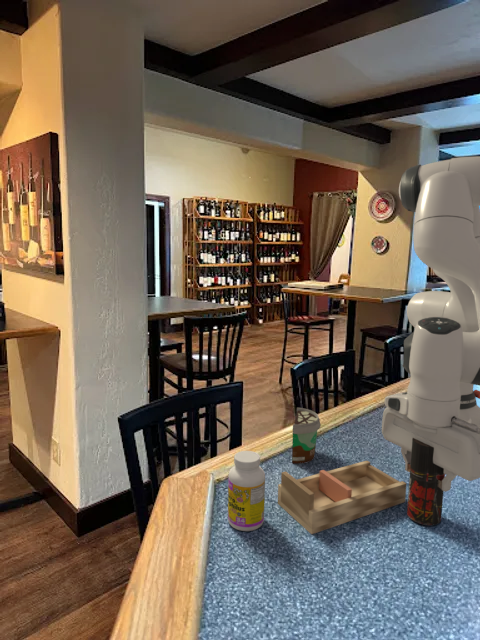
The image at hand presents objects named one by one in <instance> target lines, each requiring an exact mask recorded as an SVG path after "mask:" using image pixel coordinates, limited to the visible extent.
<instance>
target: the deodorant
mask: <svg viewBox="0 0 480 640" xmlns="http://www.w3.org/2000/svg"><path fill="white" fill-rule="evenodd" d="M433 454H434V447H432V446H430V445H427V444H425V443H423V442H421V441H419V440H417V439H414V438H413V439H412V452H411V466H410V472H409V478H408V479H409V481H408V492H407V494H408V495H407V496H408V497H407V506H406V507H407V508H406V515H407V517H408V518H409V519H410V520H411V521H413V522H414V523H417V524H420V525H424V526H431V527H432V526H437V525H439V524H440V523H441V521H442V515H443V514H442V511H443V501H444V491H443V490H441V489H439V488H438V487H437V485H438V479H442V478H443V477H445V476H446V474H444V468H442V467H440V466H438V465H436V464H434V463H433Z"/></svg>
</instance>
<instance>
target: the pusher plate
mask: <svg viewBox="0 0 480 640" xmlns="http://www.w3.org/2000/svg"><path fill="white" fill-rule="evenodd" d="M326 471H327V470H325V469H322V470H319V473H320V474H319V473H318V474H319V490H320V491H322V492H323V493H324V494H326V495H327V496H328V497H330V498H331V499H332V500H334V501H335V502H338V501H341V500H344V499H347V498H350V497H351V495H352V489H351V488H349V487H348V486H347V485H345V484H344V483H342V482H341V481H339V480H338V479H336V478H335V477H333V476H332V475H331V474H329V473H328V472H326Z"/></svg>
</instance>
